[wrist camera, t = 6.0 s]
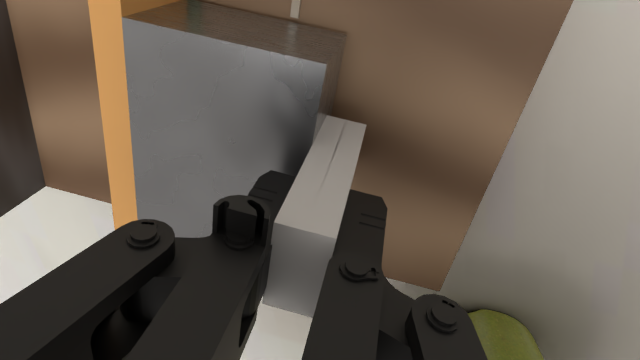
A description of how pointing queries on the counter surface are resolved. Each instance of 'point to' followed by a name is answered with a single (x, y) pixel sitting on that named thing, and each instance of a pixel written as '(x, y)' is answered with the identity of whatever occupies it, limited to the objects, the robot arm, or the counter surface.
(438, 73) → the gauge board
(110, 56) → the upright wooden plank
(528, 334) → the plant pot
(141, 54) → the grey foam block
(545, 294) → the counter surface
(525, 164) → the counter surface
